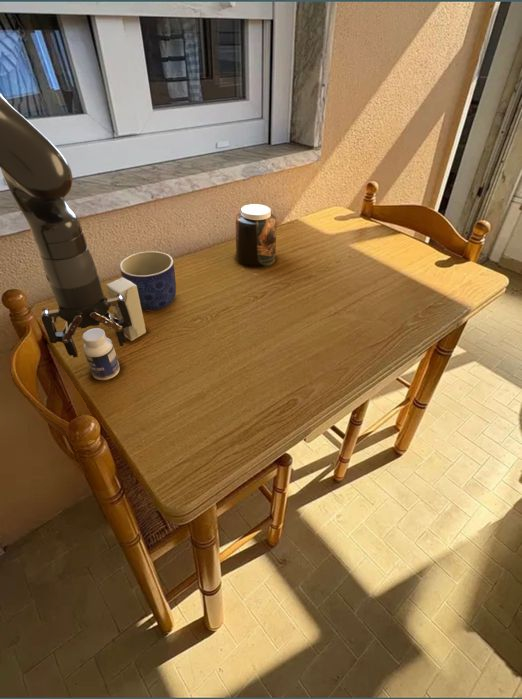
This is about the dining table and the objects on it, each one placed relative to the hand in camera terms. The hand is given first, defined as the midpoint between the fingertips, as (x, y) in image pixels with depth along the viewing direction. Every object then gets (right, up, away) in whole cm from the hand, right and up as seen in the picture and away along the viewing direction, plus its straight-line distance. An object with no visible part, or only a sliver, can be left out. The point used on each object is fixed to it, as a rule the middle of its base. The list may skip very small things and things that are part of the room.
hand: (98, 349), depth 74 cm
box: (+2, +4, +14) cm, 14 cm away
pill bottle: (0, -5, +4) cm, 6 cm away
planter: (+4, +12, +24) cm, 27 cm away
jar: (+30, +27, +42) cm, 58 cm away
